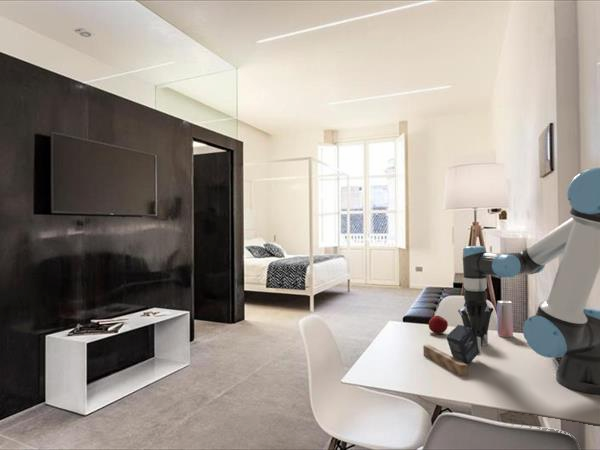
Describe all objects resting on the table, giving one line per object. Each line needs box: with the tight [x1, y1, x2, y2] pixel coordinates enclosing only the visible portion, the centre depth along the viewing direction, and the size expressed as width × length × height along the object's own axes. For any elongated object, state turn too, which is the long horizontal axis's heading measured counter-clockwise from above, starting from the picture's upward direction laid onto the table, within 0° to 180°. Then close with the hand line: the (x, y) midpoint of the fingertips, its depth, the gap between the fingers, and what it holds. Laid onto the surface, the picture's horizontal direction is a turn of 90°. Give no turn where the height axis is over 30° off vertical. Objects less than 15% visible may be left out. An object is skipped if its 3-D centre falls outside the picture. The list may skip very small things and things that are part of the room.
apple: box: [428, 315, 449, 335], centre depth 173 cm, size 8×8×8 cm
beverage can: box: [496, 300, 514, 338], centre depth 168 cm, size 6×6×15 cm
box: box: [445, 324, 480, 366], centre depth 134 cm, size 8×6×11 cm
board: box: [422, 344, 468, 377], centre depth 133 cm, size 22×2×4 cm, turn 13°
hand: (477, 354), depth 137 cm, fingers closed
